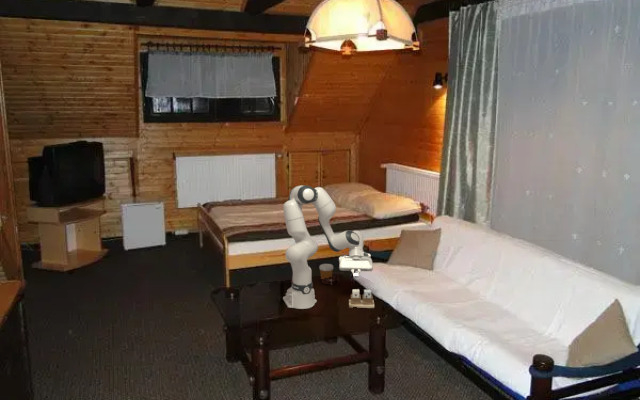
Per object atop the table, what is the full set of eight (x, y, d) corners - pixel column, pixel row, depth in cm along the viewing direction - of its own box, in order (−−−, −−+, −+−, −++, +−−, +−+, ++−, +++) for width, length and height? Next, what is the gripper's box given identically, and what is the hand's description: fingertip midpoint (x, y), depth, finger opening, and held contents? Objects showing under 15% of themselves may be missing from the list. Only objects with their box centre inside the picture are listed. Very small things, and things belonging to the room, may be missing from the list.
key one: (352, 301, 321) (352, 289, 319) (359, 301, 321) (359, 289, 319) (352, 303, 317) (352, 291, 315) (359, 304, 316) (359, 292, 315)
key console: (349, 301, 324) (349, 293, 322) (373, 301, 323) (373, 293, 322) (349, 307, 315) (349, 299, 314) (374, 307, 314) (374, 299, 313)
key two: (363, 301, 320) (364, 289, 319) (370, 301, 320) (370, 289, 319) (364, 304, 316) (364, 292, 315) (370, 304, 316) (371, 292, 315)
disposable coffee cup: (320, 280, 360) (320, 263, 357) (334, 280, 359) (334, 263, 356) (318, 285, 351) (318, 267, 348) (332, 285, 349) (332, 268, 347)
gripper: (339, 253, 323) (338, 274, 315) (372, 254, 321) (373, 275, 314) (339, 258, 328) (338, 278, 320) (372, 259, 327) (372, 279, 319)
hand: (355, 277), depth 317 cm, fingers closed
